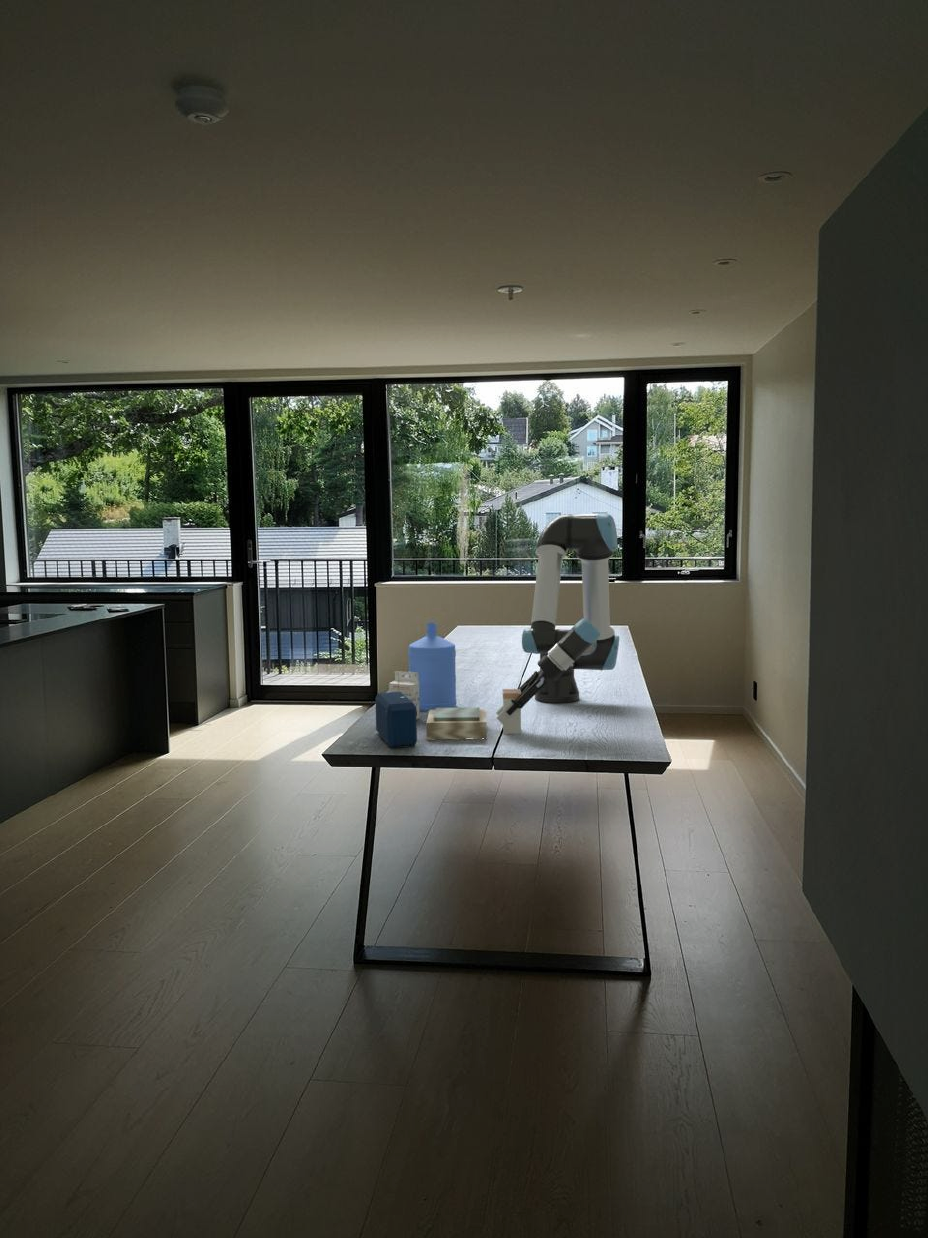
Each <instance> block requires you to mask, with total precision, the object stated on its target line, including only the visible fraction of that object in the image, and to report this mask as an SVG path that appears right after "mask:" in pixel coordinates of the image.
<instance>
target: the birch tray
mask: <svg viewBox="0 0 928 1238" xmlns="http://www.w3.org/2000/svg"><path fill="white" fill-rule="evenodd" d="M425 724H426V740H427V741H437V740H436V739H466V738H473V739H482V738H484V739H486V738H487V737H488V735H487V733H488V732H487V731H488V730H487V729H488V728H487V727H488V726H487V709H486V708H480V707H478V706H477V707H454V708H436V710H430V711H429V712H428V715H427V719H426V723H425ZM432 739H434V740H432ZM486 740H487V739H486Z"/></svg>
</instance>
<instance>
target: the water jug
mask: <svg viewBox="0 0 928 1238" xmlns="http://www.w3.org/2000/svg"><path fill="white" fill-rule="evenodd" d="M426 627H427V628H426V636H424V637H421V638H420V639H418V640H416V641H413V642H412V643H410V644H409V645H408V651H407V652H408V653H407V656H408V657H407V658H408V672H417V673H418V682H419V712H424V711H426V713H429V711H430V710H436V708H456V706H457V688H456V687H457V686H456V683H457V675H456V657H457V652H456V651H457V650H456V644H454V643H453V642H451V641H449V640H447V639H445V638H442V637H440V636H439V635H438V634H437V623H436V622H427V623H426ZM408 677H409V678H410V677H411V676H409V675H408Z"/></svg>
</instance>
